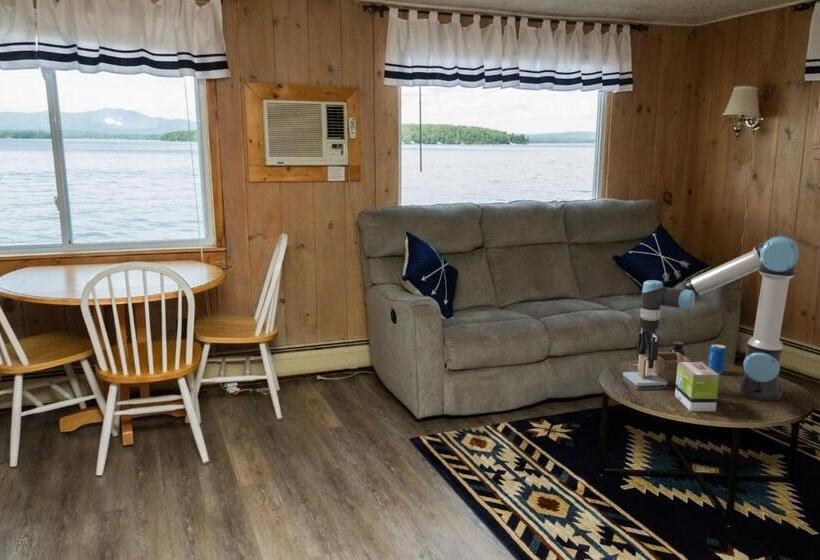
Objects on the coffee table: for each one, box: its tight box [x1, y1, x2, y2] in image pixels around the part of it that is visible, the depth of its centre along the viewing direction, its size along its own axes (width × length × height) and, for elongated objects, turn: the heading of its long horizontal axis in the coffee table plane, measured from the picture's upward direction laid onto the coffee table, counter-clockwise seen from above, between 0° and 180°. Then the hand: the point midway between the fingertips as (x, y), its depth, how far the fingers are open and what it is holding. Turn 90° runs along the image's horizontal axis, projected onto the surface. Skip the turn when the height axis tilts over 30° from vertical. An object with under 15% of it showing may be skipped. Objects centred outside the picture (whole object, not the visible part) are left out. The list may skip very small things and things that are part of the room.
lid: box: [622, 356, 668, 386], centre depth 267 cm, size 13×13×10 cm
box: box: [653, 351, 693, 385], centre depth 272 cm, size 12×12×10 cm
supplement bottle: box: [668, 341, 687, 357], centre depth 286 cm, size 7×7×12 cm
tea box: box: [674, 361, 720, 412], centre depth 245 cm, size 15×10×15 cm
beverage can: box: [707, 343, 727, 375], centre depth 281 cm, size 6×6×12 cm
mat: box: [622, 376, 668, 390], centre depth 268 cm, size 13×13×1 cm
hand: (645, 372), depth 267 cm, fingers open, 6 cm apart
